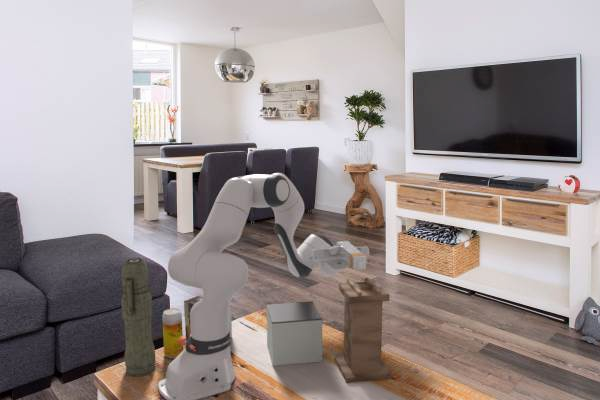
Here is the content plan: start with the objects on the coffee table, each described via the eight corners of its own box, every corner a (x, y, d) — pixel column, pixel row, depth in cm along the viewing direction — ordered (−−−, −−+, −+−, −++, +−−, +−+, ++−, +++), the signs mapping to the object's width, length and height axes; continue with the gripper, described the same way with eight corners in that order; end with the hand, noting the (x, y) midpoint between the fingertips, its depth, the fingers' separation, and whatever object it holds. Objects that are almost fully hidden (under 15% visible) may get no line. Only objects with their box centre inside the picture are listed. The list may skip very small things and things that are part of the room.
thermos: (159, 359, 153) (153, 254, 147) (151, 378, 141) (144, 265, 136) (131, 360, 152) (124, 255, 147) (120, 379, 140) (113, 266, 135)
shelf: (267, 344, 163) (266, 304, 160) (312, 340, 165) (312, 301, 163) (272, 366, 148) (272, 322, 146) (322, 361, 151) (322, 318, 149)
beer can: (178, 359, 152) (176, 315, 150) (161, 358, 153) (158, 314, 151) (186, 351, 158) (184, 308, 156) (169, 349, 159) (167, 307, 157)
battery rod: (336, 252, 164) (336, 241, 164) (347, 252, 165) (347, 240, 164) (354, 270, 144) (354, 257, 144) (367, 269, 145) (367, 256, 144)
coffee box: (216, 346, 162) (215, 301, 159) (201, 352, 157) (200, 306, 154) (200, 338, 167) (198, 295, 165) (185, 344, 163) (183, 300, 160)
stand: (334, 360, 152) (334, 278, 147) (375, 356, 154) (377, 276, 150) (346, 383, 138) (347, 294, 134) (391, 378, 141) (394, 291, 136)
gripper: (307, 251, 172) (314, 241, 159) (361, 248, 176) (372, 238, 163) (309, 268, 170) (316, 259, 157) (363, 265, 174) (375, 256, 161)
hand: (345, 248), depth 160 cm, fingers closed on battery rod, 4 cm apart
